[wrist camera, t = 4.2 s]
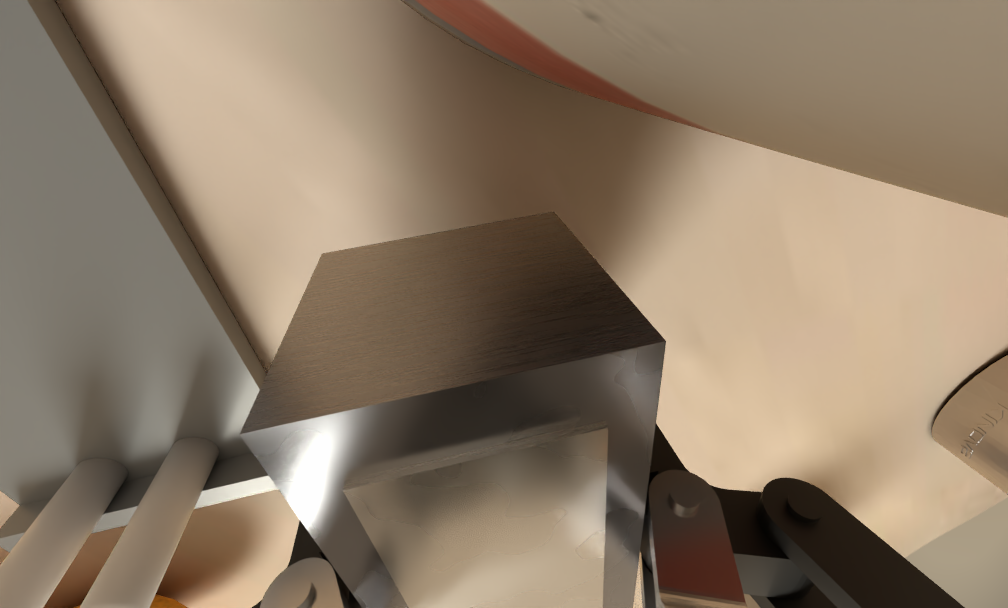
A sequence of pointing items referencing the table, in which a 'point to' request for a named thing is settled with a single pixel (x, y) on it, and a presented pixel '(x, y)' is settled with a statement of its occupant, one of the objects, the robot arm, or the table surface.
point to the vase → (784, 76)
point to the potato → (162, 603)
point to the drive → (467, 420)
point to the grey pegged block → (102, 337)
